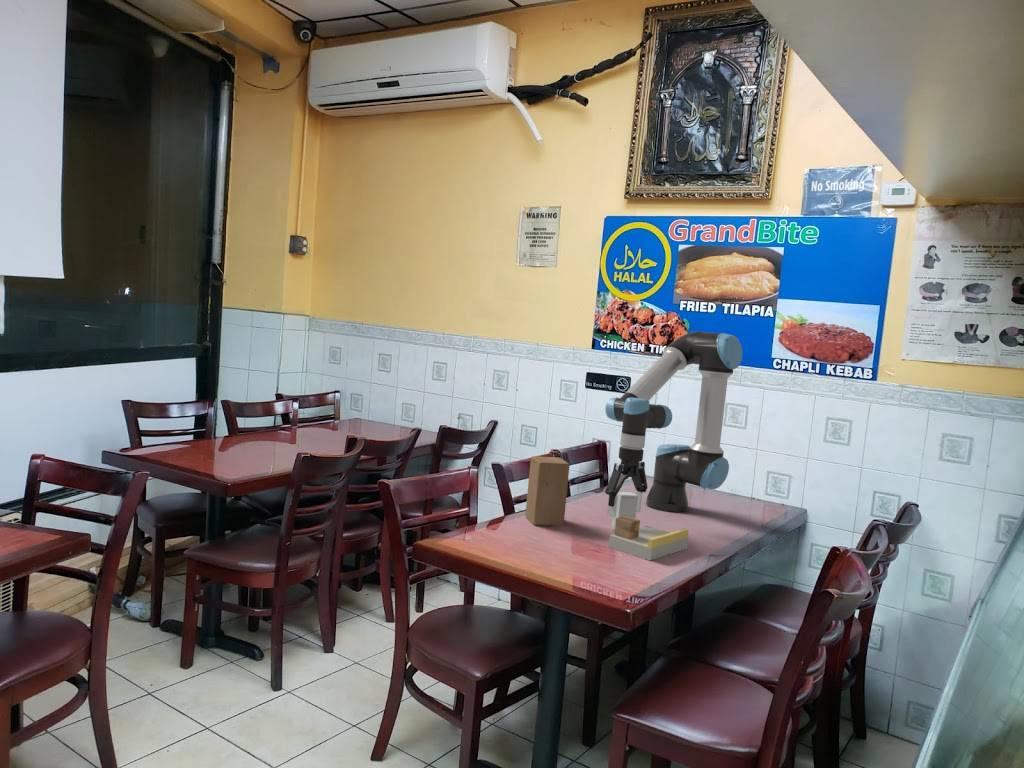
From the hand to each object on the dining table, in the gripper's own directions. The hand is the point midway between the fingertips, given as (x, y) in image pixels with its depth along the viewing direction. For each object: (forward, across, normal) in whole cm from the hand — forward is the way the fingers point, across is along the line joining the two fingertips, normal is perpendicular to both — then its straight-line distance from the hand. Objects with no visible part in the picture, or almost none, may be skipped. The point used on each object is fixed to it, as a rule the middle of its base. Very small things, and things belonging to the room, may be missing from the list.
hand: (623, 514), depth 238 cm
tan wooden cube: (+2, +15, +11) cm, 18 cm away
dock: (+6, +8, +15) cm, 18 cm away
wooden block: (+6, +14, -20) cm, 25 cm away
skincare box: (+6, 0, 0) cm, 6 cm away
